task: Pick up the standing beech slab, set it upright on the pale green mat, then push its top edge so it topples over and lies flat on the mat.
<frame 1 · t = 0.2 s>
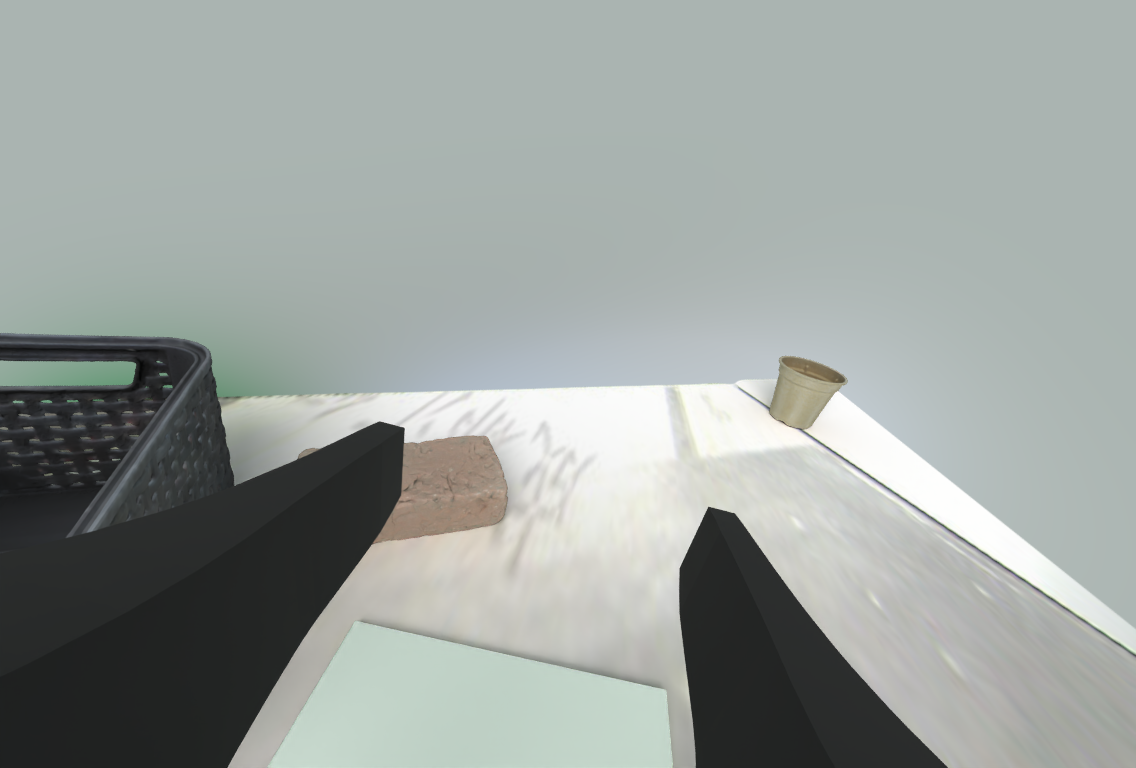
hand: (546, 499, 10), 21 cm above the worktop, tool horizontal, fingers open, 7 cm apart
flower pot: (789, 420, 69), on the worktop
brick: (401, 510, 39), on the worktop
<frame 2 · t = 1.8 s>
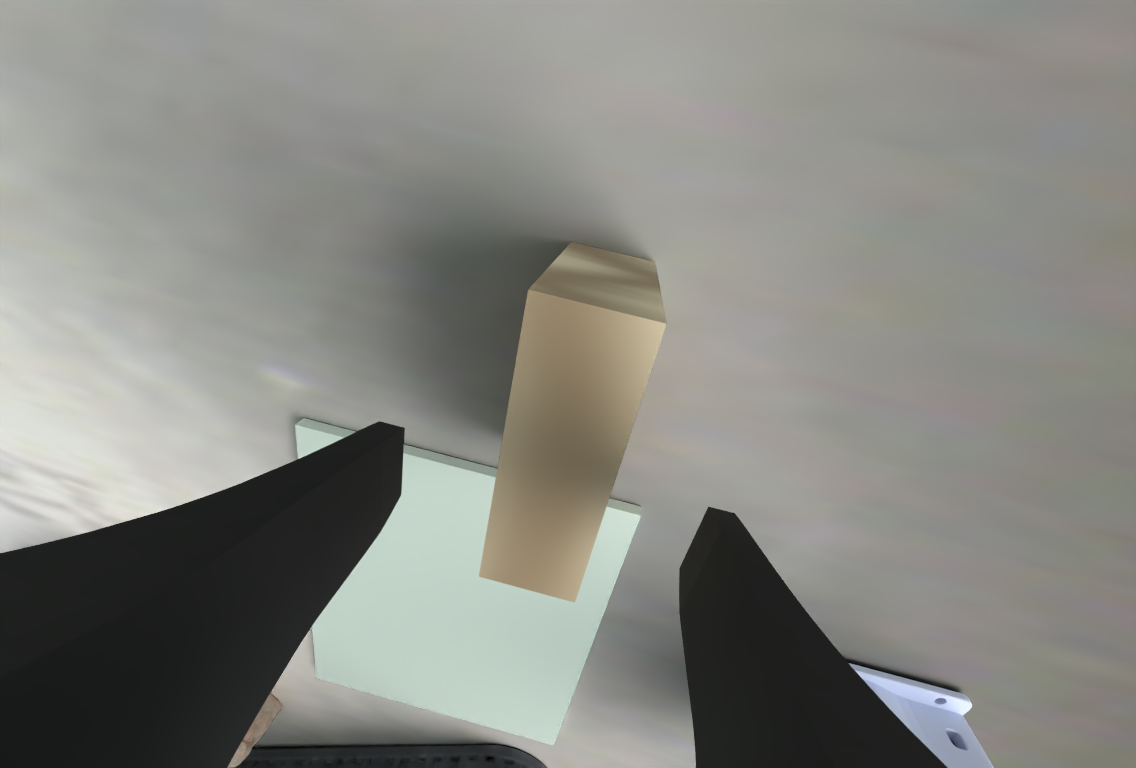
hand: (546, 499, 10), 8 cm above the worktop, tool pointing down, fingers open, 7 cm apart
slab: (584, 365, 18), on the worktop
mat: (450, 603, 25), on the worktop
brick: (178, 636, 31), on the worktop
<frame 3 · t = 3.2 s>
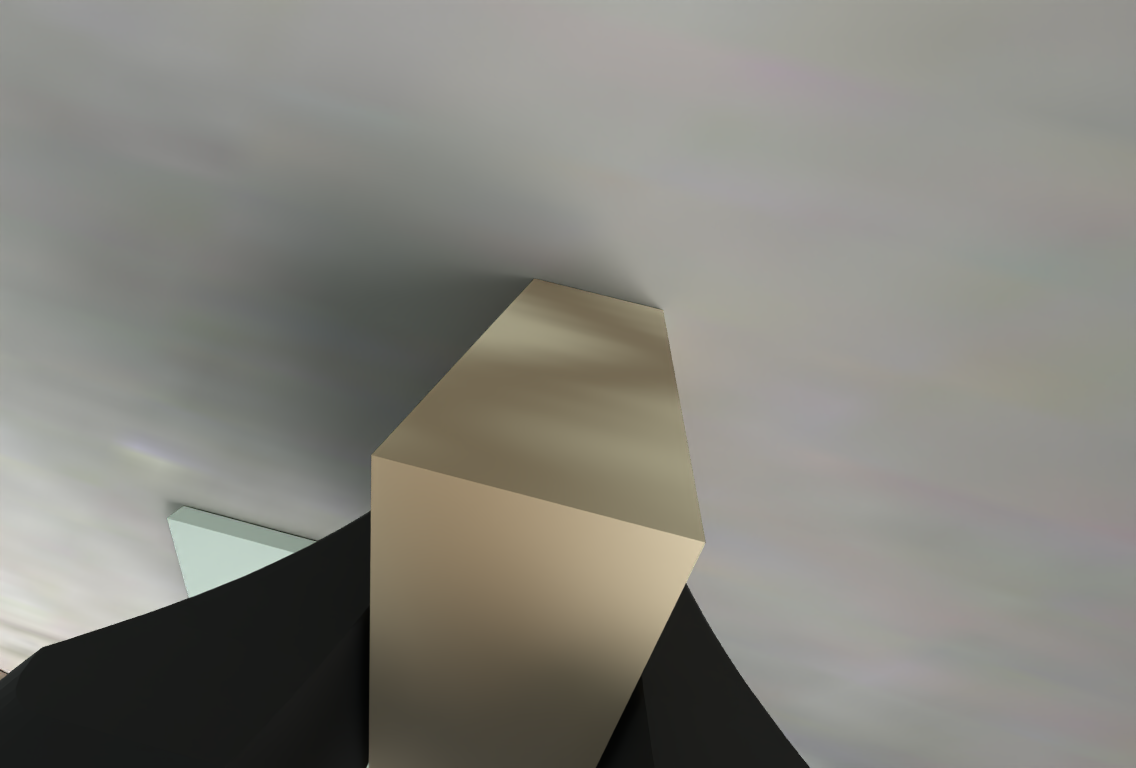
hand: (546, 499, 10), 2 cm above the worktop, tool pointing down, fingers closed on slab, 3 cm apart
slab: (559, 452, 12), on the worktop, touching gripper
mat: (398, 723, 19), on the worktop
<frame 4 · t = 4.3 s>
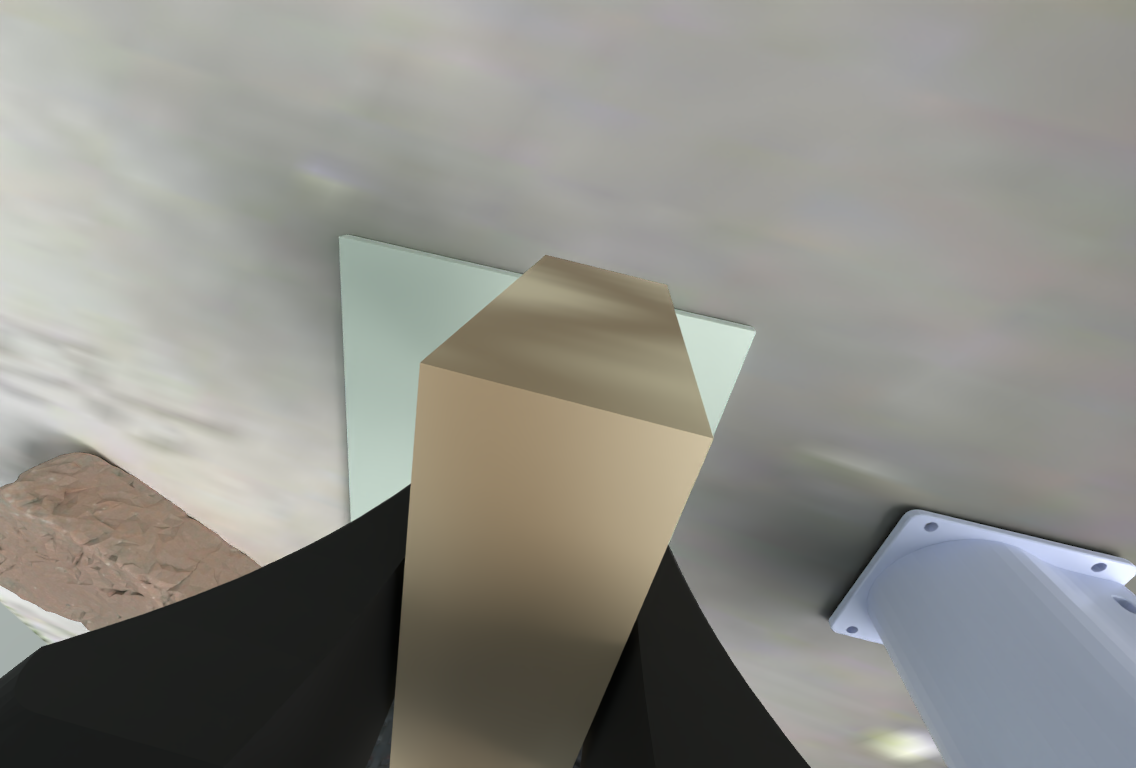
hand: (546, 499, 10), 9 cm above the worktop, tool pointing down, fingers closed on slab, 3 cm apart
slab: (566, 426, 13), point 6 cm above the worktop, touching gripper
storage bin: (458, 745, 34), on the worktop
mat: (512, 481, 22), on the worktop
brick: (196, 552, 28), on the worktop
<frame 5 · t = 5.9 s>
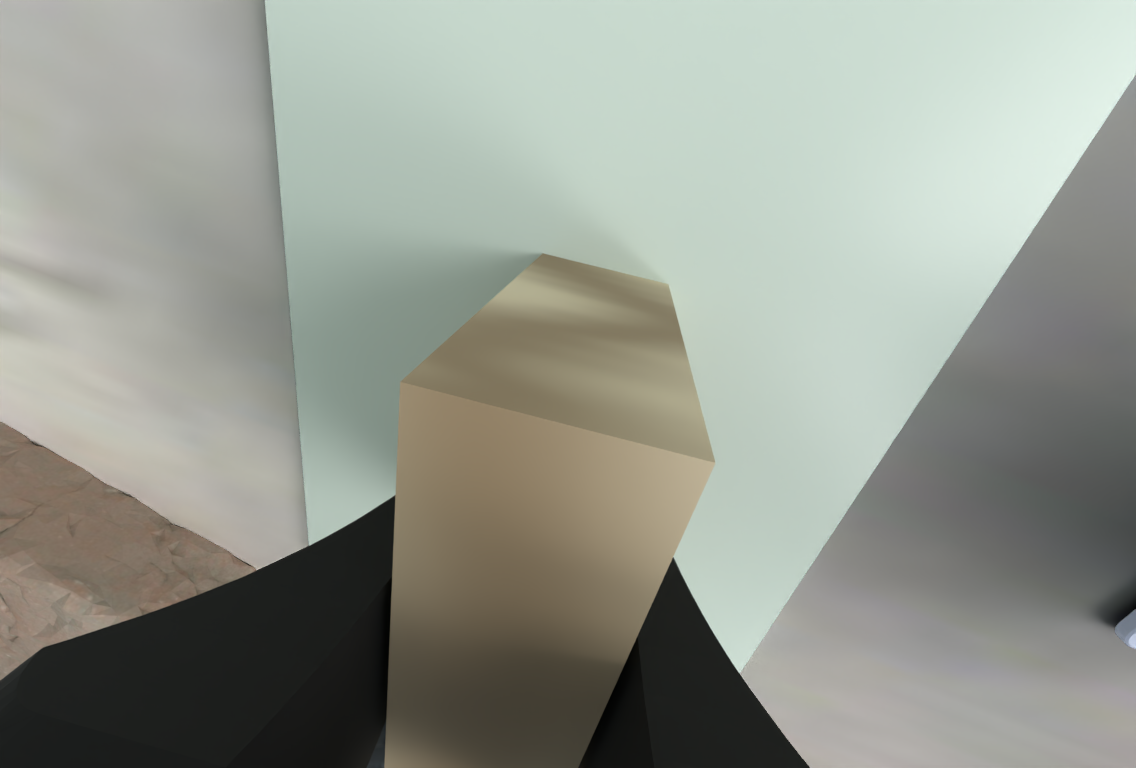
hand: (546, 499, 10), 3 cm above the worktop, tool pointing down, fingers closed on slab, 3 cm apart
slab: (565, 428, 12), point 1 cm above the worktop, touching gripper, mat
mat: (581, 371, 12), on the worktop
brick: (78, 512, 19), on the worktop
when the fingers open (3 cm above the worktop, at t = 6.3 s): slab stays where it is, resting on mat.
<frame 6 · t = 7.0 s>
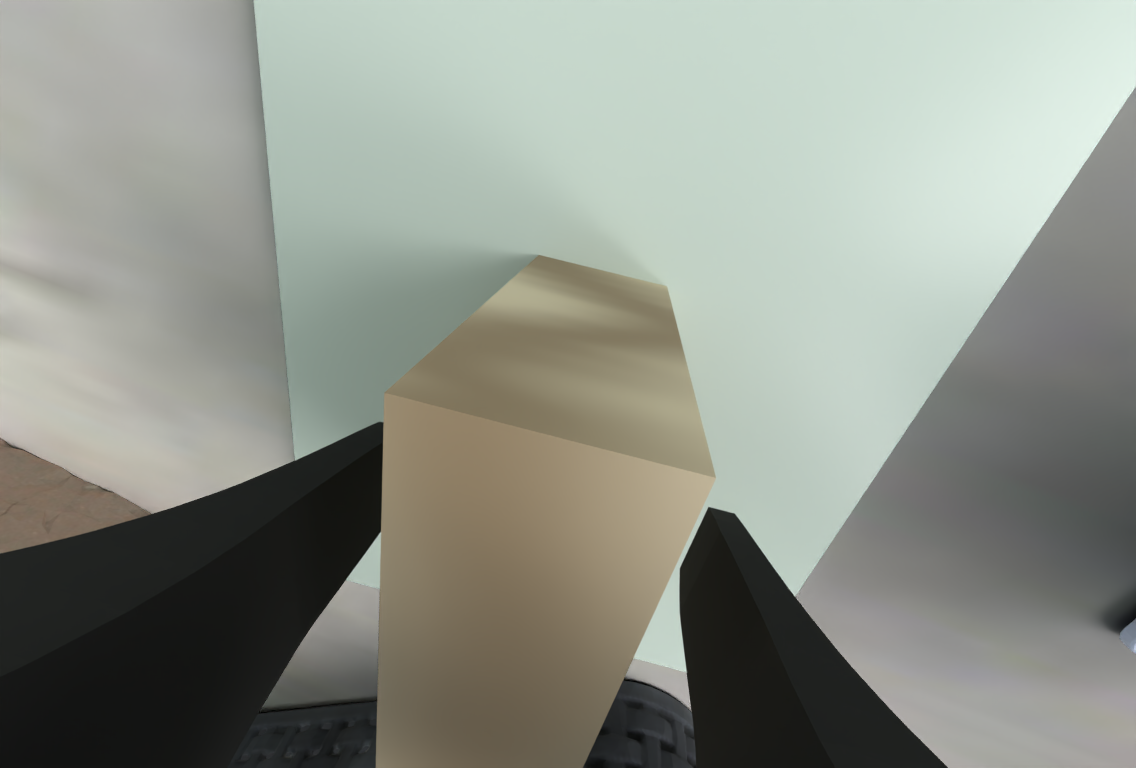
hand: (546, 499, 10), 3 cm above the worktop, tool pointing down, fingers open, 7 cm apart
slab: (562, 432, 12), point 1 cm above the worktop, touching mat
mat: (579, 375, 12), on the worktop
brick: (70, 518, 19), on the worktop
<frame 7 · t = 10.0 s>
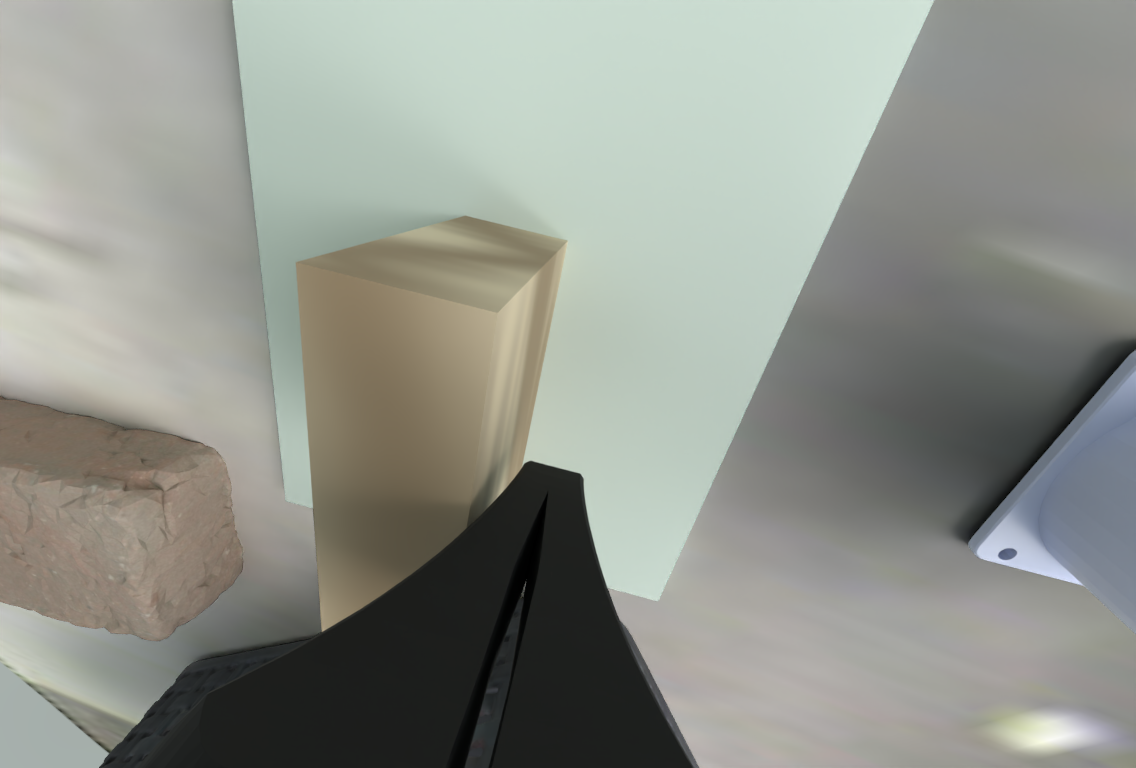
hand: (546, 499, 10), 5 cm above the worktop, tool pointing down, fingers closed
slab: (495, 369, 15), point 1 cm above the worktop, touching gripper, mat
storage bin: (442, 727, 27), on the worktop
mat: (508, 320, 14), on the worktop
brick: (83, 468, 21), on the worktop
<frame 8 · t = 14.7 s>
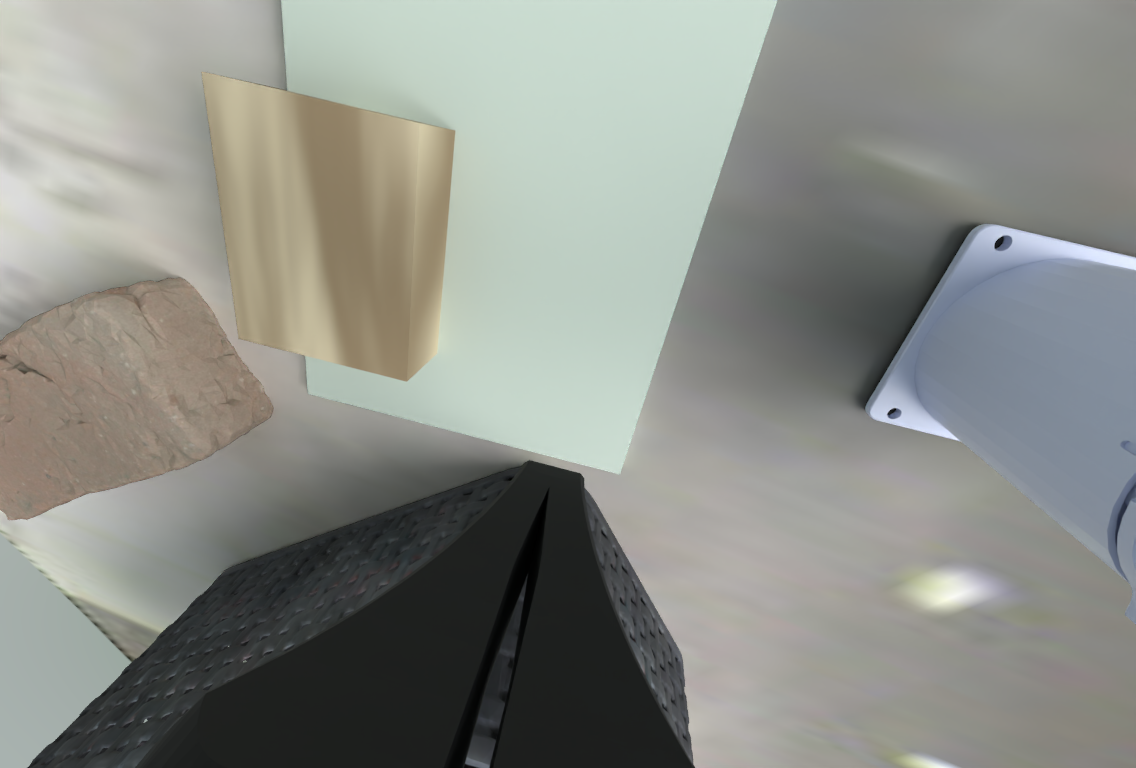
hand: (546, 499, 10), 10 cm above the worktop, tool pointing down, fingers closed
slab: (430, 261, 17), point 2 cm above the worktop, tilted 90°, touching mat
storage bin: (445, 620, 30), on the worktop
mat: (491, 223, 18), on the worktop
brick: (136, 384, 25), on the worktop
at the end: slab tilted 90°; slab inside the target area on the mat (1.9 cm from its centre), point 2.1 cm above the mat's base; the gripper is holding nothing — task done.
